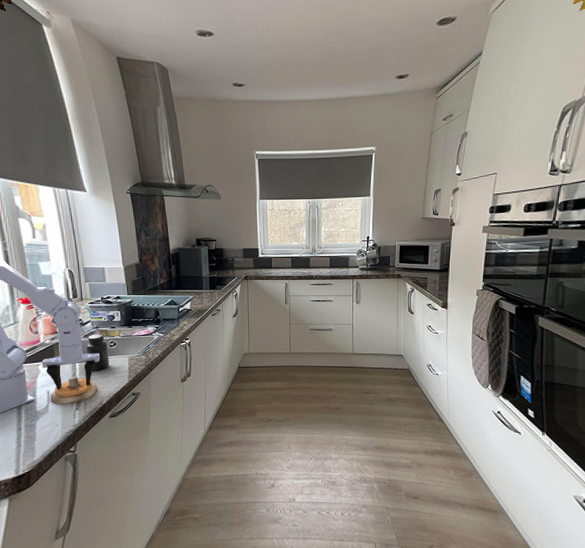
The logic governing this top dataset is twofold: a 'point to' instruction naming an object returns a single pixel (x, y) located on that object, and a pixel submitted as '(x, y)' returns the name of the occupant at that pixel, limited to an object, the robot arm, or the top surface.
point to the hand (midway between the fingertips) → (74, 386)
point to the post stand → (74, 398)
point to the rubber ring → (69, 392)
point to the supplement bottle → (98, 351)
